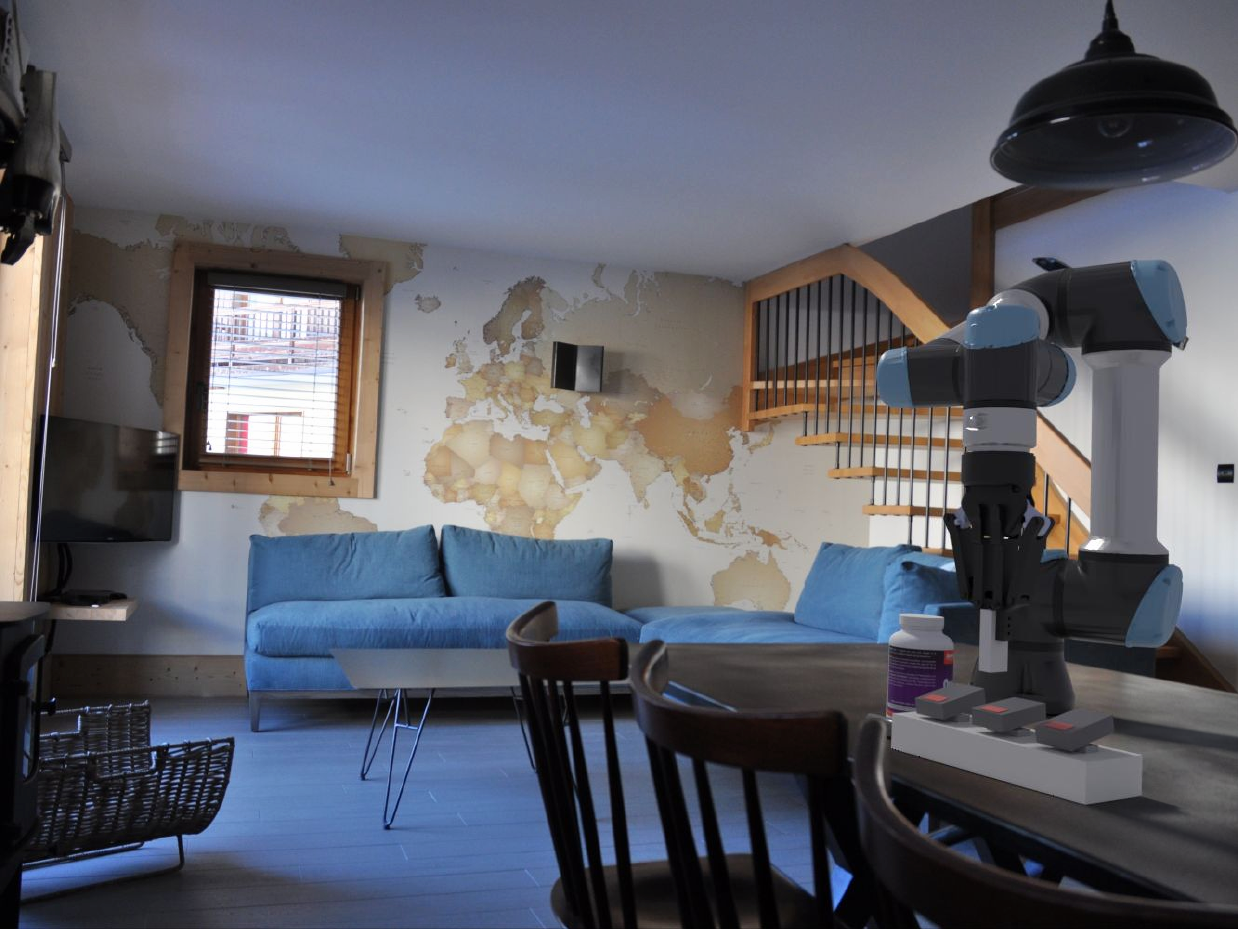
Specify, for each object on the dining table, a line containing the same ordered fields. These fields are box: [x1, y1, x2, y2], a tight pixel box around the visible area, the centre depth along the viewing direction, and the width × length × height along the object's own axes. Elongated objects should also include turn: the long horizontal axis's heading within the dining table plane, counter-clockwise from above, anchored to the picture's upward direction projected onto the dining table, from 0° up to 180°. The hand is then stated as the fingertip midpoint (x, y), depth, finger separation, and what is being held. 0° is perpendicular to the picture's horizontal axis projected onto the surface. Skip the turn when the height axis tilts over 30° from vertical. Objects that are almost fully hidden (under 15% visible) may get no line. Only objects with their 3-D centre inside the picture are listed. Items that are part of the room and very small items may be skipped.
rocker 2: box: [970, 697, 1047, 732], centre depth 113 cm, size 7×4×2 cm, turn 121°
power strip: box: [865, 712, 1144, 806], centre depth 117 cm, size 9×33×5 cm, turn 31°
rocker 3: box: [1034, 707, 1115, 751], centre depth 107 cm, size 7×4×2 cm, turn 121°
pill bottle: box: [885, 613, 955, 719], centre depth 135 cm, size 8×8×14 cm
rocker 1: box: [915, 682, 986, 720], centre depth 120 cm, size 7×4×2 cm, turn 121°
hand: (992, 670), depth 112 cm, fingers closed
